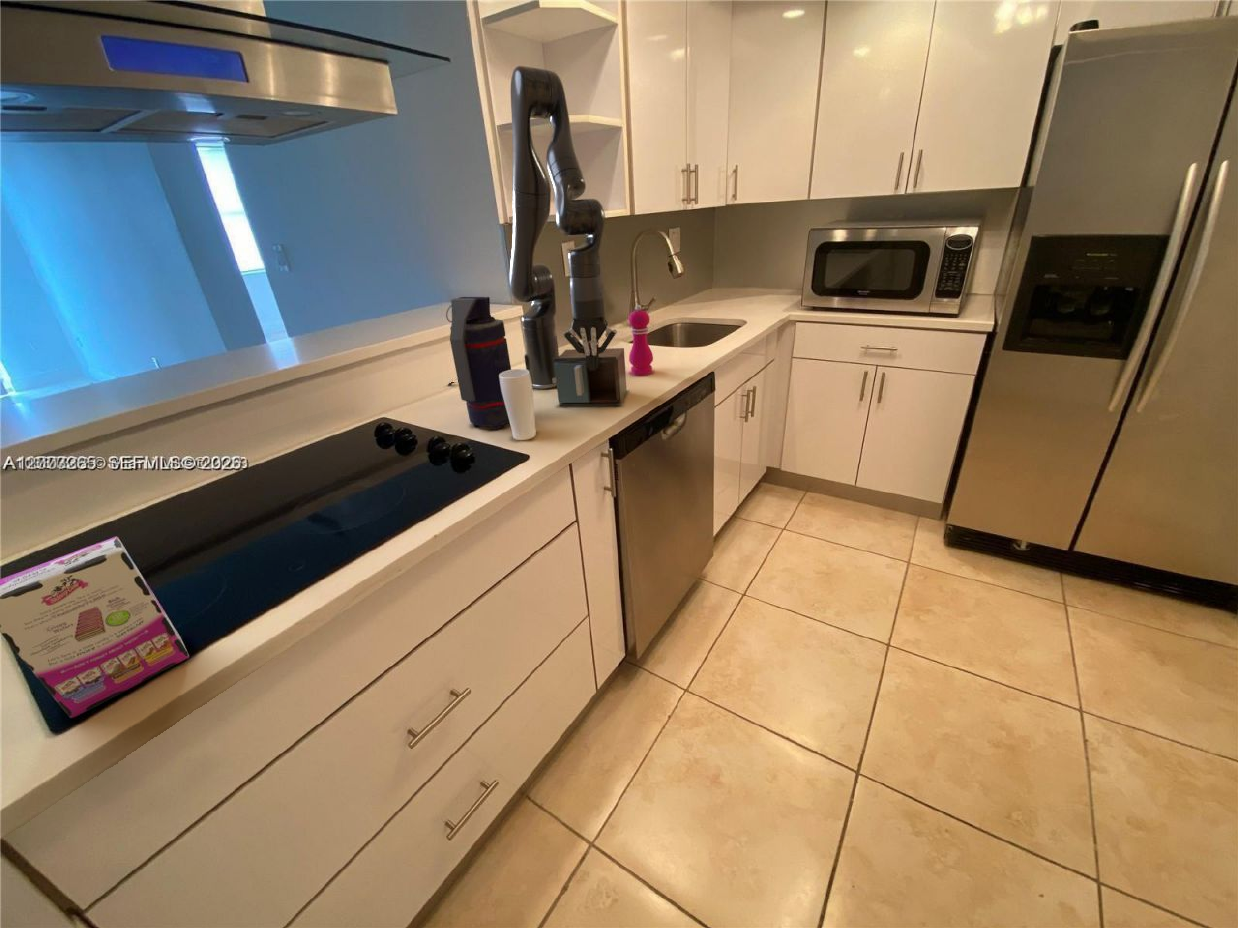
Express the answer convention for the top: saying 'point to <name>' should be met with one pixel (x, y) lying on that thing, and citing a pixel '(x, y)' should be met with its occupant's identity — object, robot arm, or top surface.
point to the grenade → (479, 359)
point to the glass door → (572, 382)
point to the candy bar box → (88, 625)
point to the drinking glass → (518, 402)
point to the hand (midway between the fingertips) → (593, 369)
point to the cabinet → (601, 377)
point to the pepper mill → (640, 343)
